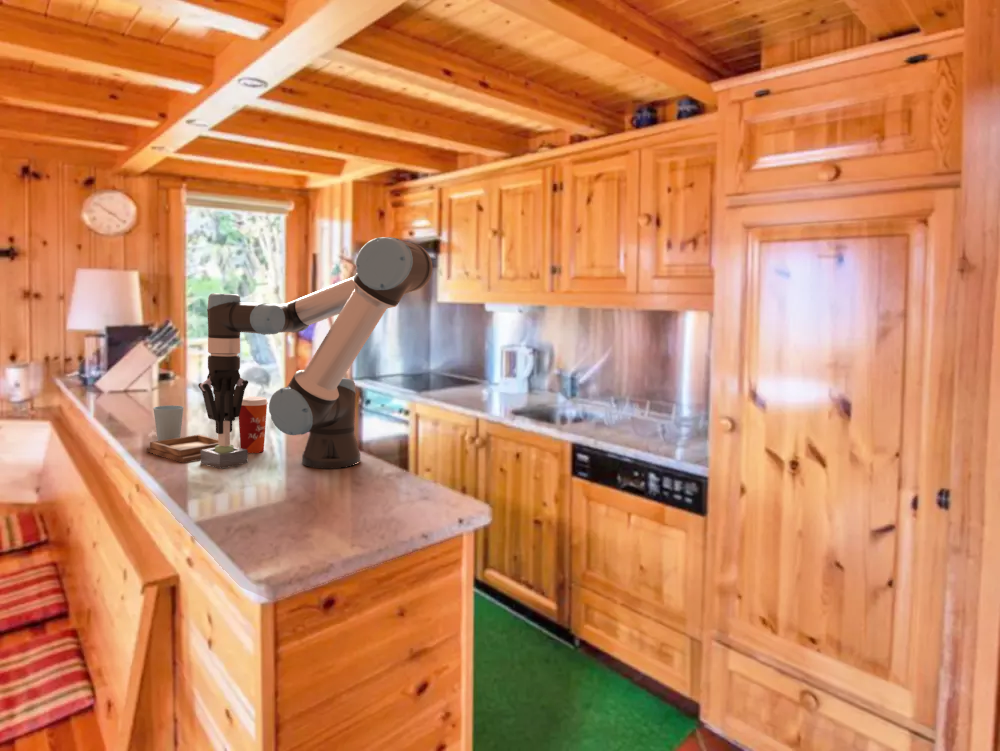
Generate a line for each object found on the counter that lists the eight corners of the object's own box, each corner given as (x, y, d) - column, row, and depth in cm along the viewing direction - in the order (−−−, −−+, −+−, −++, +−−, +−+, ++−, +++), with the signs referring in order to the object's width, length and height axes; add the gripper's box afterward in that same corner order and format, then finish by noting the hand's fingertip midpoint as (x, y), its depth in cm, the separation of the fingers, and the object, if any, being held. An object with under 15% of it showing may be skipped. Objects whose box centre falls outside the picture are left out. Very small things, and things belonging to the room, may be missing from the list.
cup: (150, 446, 178) (149, 409, 177) (158, 440, 186) (157, 405, 185) (179, 446, 180) (179, 409, 179) (186, 440, 188) (186, 405, 187)
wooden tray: (235, 452, 176) (235, 442, 175) (183, 462, 163) (183, 451, 163) (198, 443, 184) (198, 433, 184) (146, 452, 172) (146, 441, 171)
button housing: (247, 462, 166) (247, 449, 165) (219, 468, 159) (219, 455, 159) (228, 457, 170) (228, 444, 170) (200, 463, 163) (200, 450, 163)
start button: (237, 461, 165) (237, 446, 165) (221, 464, 161) (221, 449, 161) (226, 458, 167) (226, 443, 167) (211, 461, 164) (211, 446, 163)
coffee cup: (257, 455, 174) (257, 401, 172) (230, 452, 175) (230, 399, 174) (273, 449, 182) (274, 397, 180) (248, 446, 183) (248, 395, 182)
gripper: (237, 352, 169) (237, 439, 171) (191, 354, 158) (191, 447, 160) (255, 354, 165) (254, 443, 168) (209, 356, 154) (209, 452, 156)
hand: (224, 445), depth 164 cm, fingers closed
